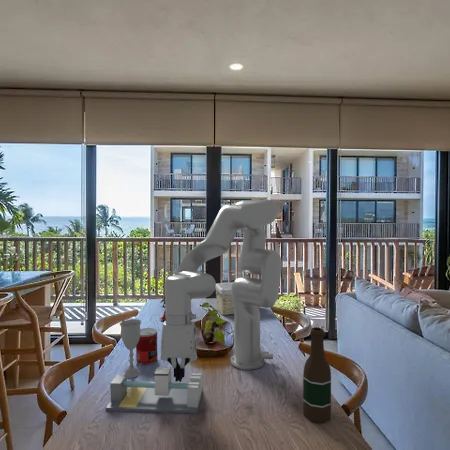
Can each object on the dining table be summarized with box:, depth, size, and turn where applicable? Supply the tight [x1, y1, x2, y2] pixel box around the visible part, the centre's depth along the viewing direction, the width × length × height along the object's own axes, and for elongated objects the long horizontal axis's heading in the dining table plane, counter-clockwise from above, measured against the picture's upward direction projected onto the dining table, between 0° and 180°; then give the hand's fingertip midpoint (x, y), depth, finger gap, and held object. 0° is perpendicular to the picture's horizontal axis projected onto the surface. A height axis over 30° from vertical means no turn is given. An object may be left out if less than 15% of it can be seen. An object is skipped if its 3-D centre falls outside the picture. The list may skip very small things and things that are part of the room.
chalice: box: [119, 319, 142, 379], centre depth 114 cm, size 7×7×18 cm
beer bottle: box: [302, 326, 332, 424], centre depth 90 cm, size 8×8×24 cm
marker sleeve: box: [153, 366, 172, 396], centre depth 98 cm, size 4×4×6 cm
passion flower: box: [159, 295, 165, 307], centre depth 196 cm, size 11×11×12 cm
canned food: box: [135, 327, 158, 365], centre depth 125 cm, size 8×8×11 cm
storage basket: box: [215, 282, 261, 316], centre depth 186 cm, size 24×16×15 cm
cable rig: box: [105, 372, 204, 414], centre depth 99 cm, size 26×12×6 cm, turn 86°
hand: (179, 379), depth 98 cm, fingers closed
